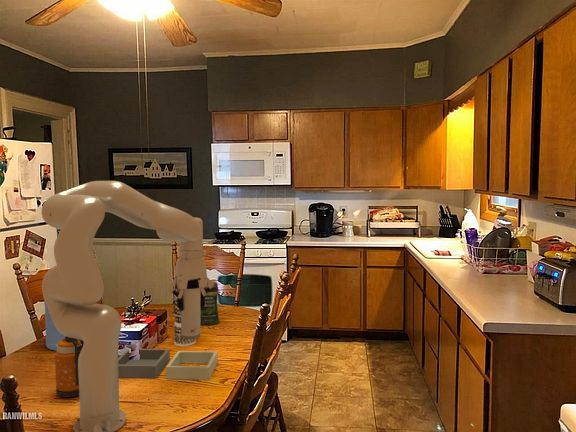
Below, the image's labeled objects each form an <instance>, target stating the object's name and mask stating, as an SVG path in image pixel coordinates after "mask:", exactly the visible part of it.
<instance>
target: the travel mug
mask: <svg viewBox="0 0 576 432" xmlns="http://www.w3.org/2000/svg"><path fill="white" fill-rule="evenodd" d="M198 280H201V279H200V278H198V279H195V280H189V281H188V283H187V288H186V290H184V292H183V295H182V298H183V311H181V337H182V338H183V339H195V340H197V339H198V338H199V339H200V337H201V325H200V321H201V290H200V288H199V282H198Z"/></svg>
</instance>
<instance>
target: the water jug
mask: <svg viewBox="0 0 576 432" xmlns="http://www.w3.org/2000/svg"><path fill="white" fill-rule="evenodd" d="M43 299H44V298H43ZM43 302H44V314H45V315H44V317H45V318H44V319H45V321H44V325H45V346H46V348H47V349H49V350H51V351H55V352H56V351H57V344H58V342H59V341H60V340H62V339H64V338H65V336H64V335H62V334H61V333H60V332H59V331H58V330H57V329H56V327H55V325H54V323H53V320H52V318H51V315H50V312H49V310H48V307H47V305H46V302H45V299H44V300H43Z"/></svg>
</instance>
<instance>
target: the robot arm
mask: <svg viewBox="0 0 576 432" xmlns="http://www.w3.org/2000/svg"><path fill="white" fill-rule="evenodd" d="M106 213H110V214H113V215H115V216H117V217H119V218H120V219H123V220H124V221H127V222H129V223H131V224H132V225H135V226H137V227H140V228H144V229H148V230H154V231H156V235H157V237H158V238H159V239H161V240H163V241H165V242H174V243H179V248H178V249H179V257H178V258H177V259H176V261H175V268H174V279H173V280H171V282H170V283H169V285H167V286H166V289H167V290H168V291H169V292H171V293H172V294H173V296H174V295H175V296H176V297H177V307H178V308H179V310H181V311H183V298H182V295H183V292H184V290H186V288H187V283H188V281H189V280H195V279H198V278H200V279H201V280H198V282H199V288H200V290H201V308H204V305H205V296H206V294H207V293H208V292H209V291H210V289H211V288H212V287H213V286H214V283H213V280H211V279H210V278H209V277H208V274H207V265H206V260H205V258H204V256H205V255H207V254H208V251H207V250H205V249H204V248H203V246H204V242H203V240H204V238H203V237H204V235H203V232H204V231H203V227H204V226H203V225H204V224H203V220H202V218H200V217H193V215H191V214H189V213H187V212H185V211H183V210H180V209H178V208H176V207H173V206H170V205H167V204H164V203H162V202H159V201H156V200H153V199H152V198H150V197H148V196H146V195H145V194H143V193H141V192H139V191H138V190H136V189H134V188H133V187H131V186H130V185H127V184H126V183H124V182H121V181H117V180H94V181H93V180H91V181H90V182H89V181H88V182H86V183H82V184H80V185H77V186H74V187H72V188H70V189H66V190H64V191H60V192H58V193H55V194H53V195H51V196H49V197H48V198H47V199H46V200H45V201H44V203H43V205H42V207H41V216H42V219H43V220H44V222H45V223H46V224H47V225H48V226H50V227H52V228H55V229H60V230H59V233H58V234H57V237H56V239H55V242H54V247H53V256H54V260H55V263H56V265H54V266H52V267H51V268H49V269H48V270H47V271H46V273H45V274H44V277H43V278H42V282H41V291H42V296H43V299H45V302H46V305H47V307H48V310H49V312H50V315H51V318H52V320H53V323H54V325H55V327H56V329H57V330H58V331H59V332H60V333H61V334H62V335H64V336H67V337H70V338H75V339H79V340H82V341H84V345H83V348H82V350H81V352H80V354H79V358H78V374H79V395H78V400H79V402H78V403H79V418H77V419H76V420H75V421H74V423H73V432H116V431H119V430H120V429H121V428H122V427H123V426H124V425H125V423H126V422H127V414H126V413H125V411H123V410H121V409H120V378H119V372H118V358H119V341H120V334H121V330H122V317H121V315H120V313H119V312H118V310H117V309H116V308H113V307H112V306H110V305H107V304H102V303H98V302H99V301H101V299H102V297H104V293H105V286H104V281H103V277H102V275H101V271H100V269H99V266H98V263H97V259H96V257H95V252H94V248H93V241H94V238H95V236H96V233H97V231H98V229H99V228H100V226H101V225H102V223H103V221H104V219H105V216H106ZM207 283H208V286H207ZM206 286H207V287H206ZM175 287H176V288H178V291H177V292H176V291H175ZM205 287H206V288H205ZM204 288H205V289H204Z"/></svg>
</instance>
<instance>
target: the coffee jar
mask: <svg viewBox="0 0 576 432" xmlns="http://www.w3.org/2000/svg"><path fill="white" fill-rule="evenodd" d="M212 282H213V281H212ZM213 283H214V286H213V287H212V288H211V289H210V291H209V292H208V293H207V294H206V296H205V305H204V308H201V321H200V326H207V325H208V326H209V325H210V326H211V325H216V324H218V323H219V322H220V319H219V317H220V316H219V306H218V296H219V291H220V290H219V285H218V284H219V283H218V282H216V281H215V282H213ZM207 286H208V283H207ZM207 286H206V287H207ZM206 287H205V288H206ZM205 288H204V289H205Z"/></svg>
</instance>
